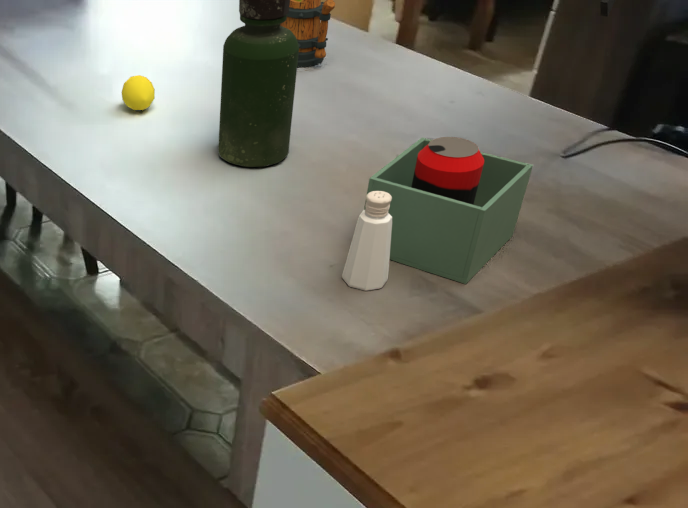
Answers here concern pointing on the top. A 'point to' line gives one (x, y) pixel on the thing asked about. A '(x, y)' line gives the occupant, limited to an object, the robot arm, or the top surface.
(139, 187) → the top surface
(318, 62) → the mug
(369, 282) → the pepper shaker
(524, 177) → the green open box
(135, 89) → the lemon
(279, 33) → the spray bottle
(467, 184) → the soda can
